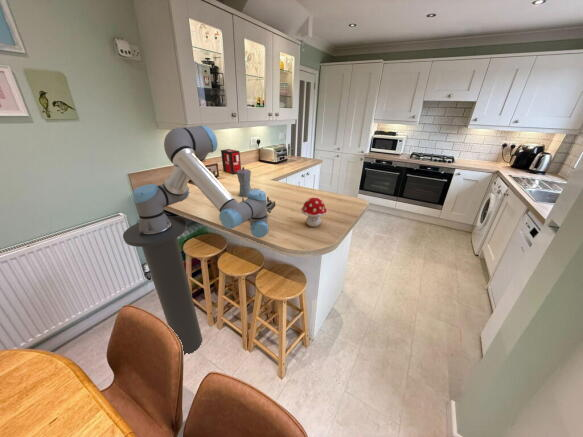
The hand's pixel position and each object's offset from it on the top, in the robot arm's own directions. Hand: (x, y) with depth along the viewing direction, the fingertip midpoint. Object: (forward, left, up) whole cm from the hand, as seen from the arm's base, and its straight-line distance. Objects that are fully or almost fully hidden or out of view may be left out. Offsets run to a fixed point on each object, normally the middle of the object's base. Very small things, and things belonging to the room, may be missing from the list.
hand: (255, 199), depth 130 cm
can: (0, 0, -10) cm, 10 cm away
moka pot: (+22, +33, -11) cm, 41 cm away
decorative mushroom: (+12, -31, -11) cm, 35 cm away
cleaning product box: (+57, +89, -11) cm, 106 cm away
